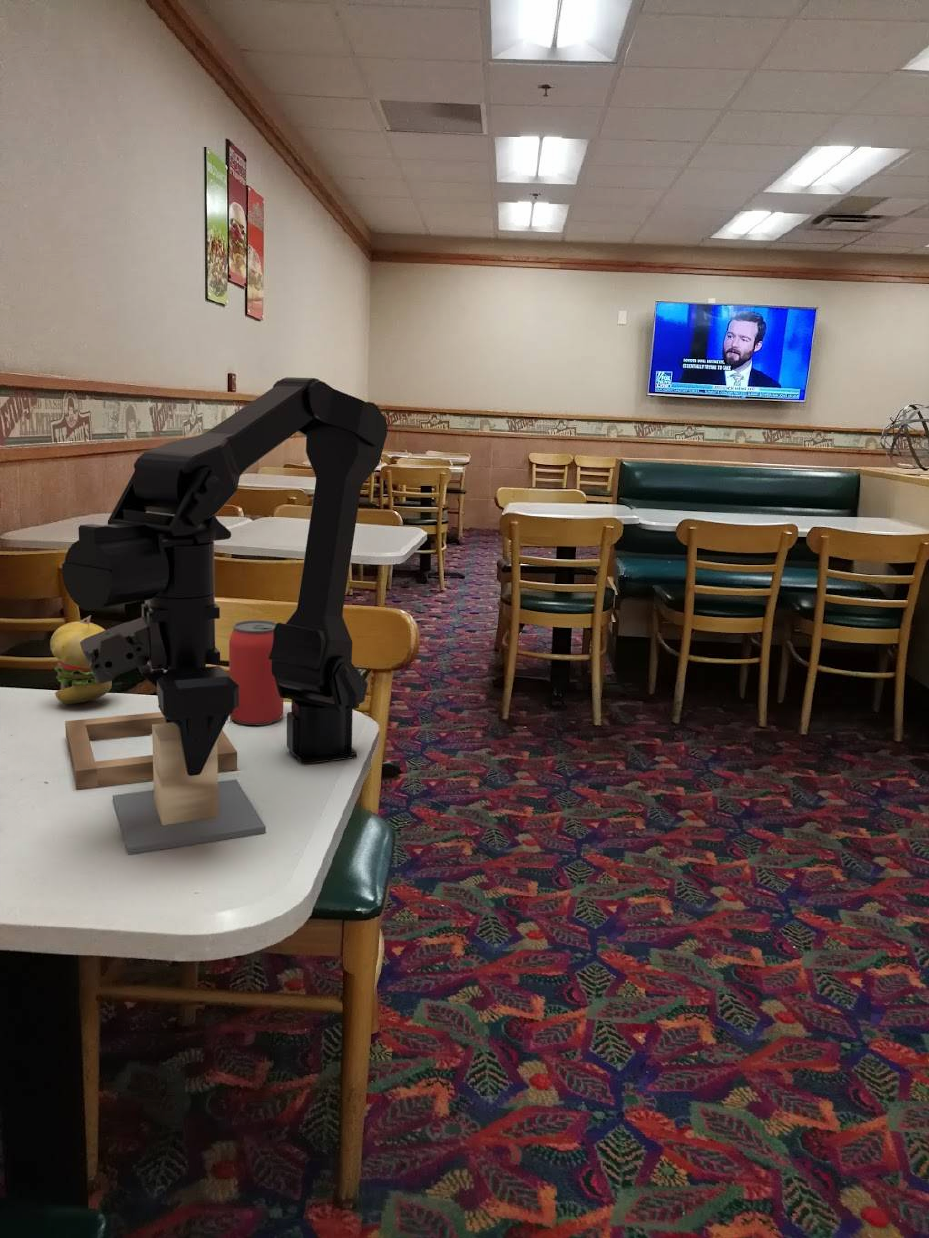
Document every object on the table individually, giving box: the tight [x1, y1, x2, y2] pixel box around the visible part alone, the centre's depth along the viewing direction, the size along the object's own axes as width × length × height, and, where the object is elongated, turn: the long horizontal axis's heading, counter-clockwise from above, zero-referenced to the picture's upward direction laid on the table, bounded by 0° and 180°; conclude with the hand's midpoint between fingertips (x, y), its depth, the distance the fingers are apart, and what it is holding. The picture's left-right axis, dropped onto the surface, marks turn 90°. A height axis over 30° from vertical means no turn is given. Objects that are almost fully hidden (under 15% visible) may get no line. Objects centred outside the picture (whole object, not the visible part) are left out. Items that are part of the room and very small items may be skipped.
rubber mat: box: [111, 778, 267, 856], centre depth 88 cm, size 12×12×1 cm
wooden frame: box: [64, 711, 238, 791], centre depth 103 cm, size 16×16×2 cm
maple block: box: [151, 722, 219, 825], centre depth 87 cm, size 5×5×8 cm
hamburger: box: [49, 615, 113, 704], centre depth 117 cm, size 8×7×12 cm
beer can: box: [228, 619, 284, 726], centre depth 115 cm, size 7×7×12 cm
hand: (184, 757), depth 86 cm, fingers open, 9 cm apart
